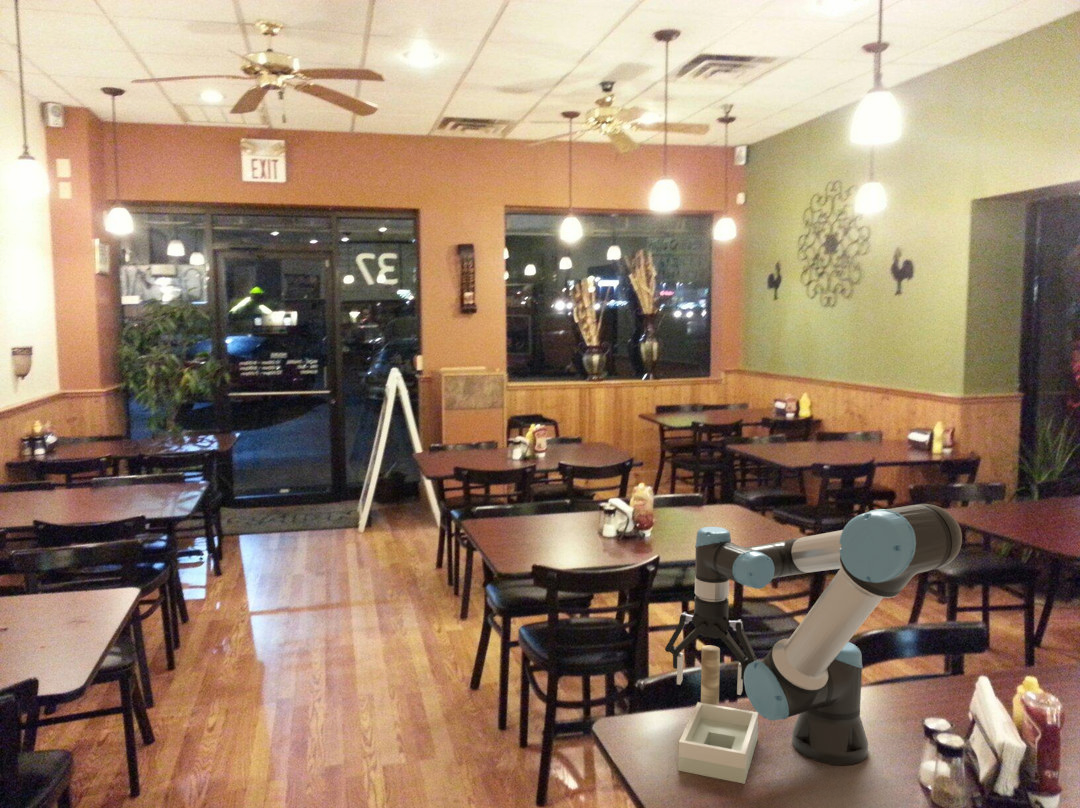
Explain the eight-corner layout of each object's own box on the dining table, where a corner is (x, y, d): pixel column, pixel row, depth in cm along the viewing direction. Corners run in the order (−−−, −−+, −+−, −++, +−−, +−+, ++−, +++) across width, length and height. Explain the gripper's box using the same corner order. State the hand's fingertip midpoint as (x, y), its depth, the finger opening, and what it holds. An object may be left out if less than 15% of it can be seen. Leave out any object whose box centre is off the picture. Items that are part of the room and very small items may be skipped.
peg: (719, 714, 189) (721, 646, 188) (716, 722, 186) (718, 653, 184) (702, 711, 191) (703, 644, 189) (699, 719, 187) (700, 650, 186)
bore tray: (757, 739, 178) (758, 712, 177) (744, 783, 160) (745, 754, 160) (697, 728, 183) (697, 702, 182) (678, 770, 165) (678, 741, 165)
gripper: (770, 598, 185) (767, 689, 187) (661, 584, 194) (659, 671, 196) (766, 609, 178) (763, 703, 180) (653, 594, 187) (651, 684, 189)
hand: (709, 687), depth 188 cm, fingers open, 13 cm apart
